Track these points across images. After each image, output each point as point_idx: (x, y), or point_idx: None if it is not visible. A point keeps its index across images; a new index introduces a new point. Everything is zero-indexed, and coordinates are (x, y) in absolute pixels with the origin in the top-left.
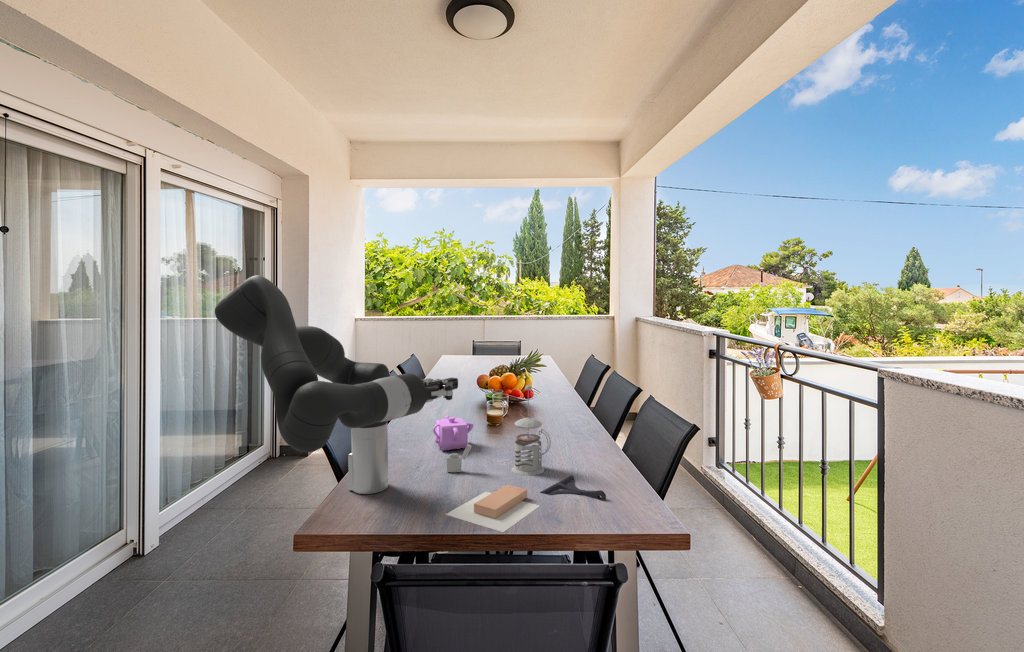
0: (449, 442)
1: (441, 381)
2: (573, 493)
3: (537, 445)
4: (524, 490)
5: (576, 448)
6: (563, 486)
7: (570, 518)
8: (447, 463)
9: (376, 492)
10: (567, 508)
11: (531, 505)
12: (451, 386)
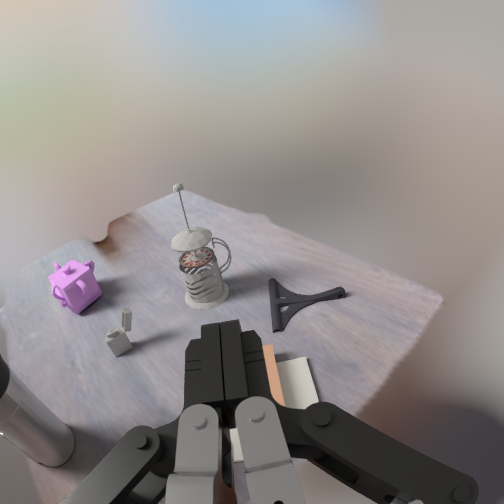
0: (80, 301)
1: (291, 462)
2: (305, 306)
3: (216, 262)
4: (271, 348)
5: (218, 231)
6: (286, 302)
7: (356, 351)
8: (110, 347)
9: (70, 455)
10: (331, 336)
11: (295, 363)
12: (474, 482)
